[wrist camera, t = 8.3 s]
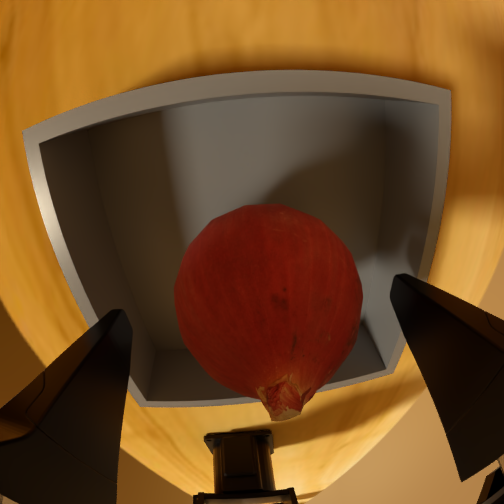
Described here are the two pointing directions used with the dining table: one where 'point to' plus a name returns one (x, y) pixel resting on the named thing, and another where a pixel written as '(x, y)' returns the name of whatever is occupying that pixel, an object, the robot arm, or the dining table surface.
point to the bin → (240, 198)
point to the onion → (269, 304)
